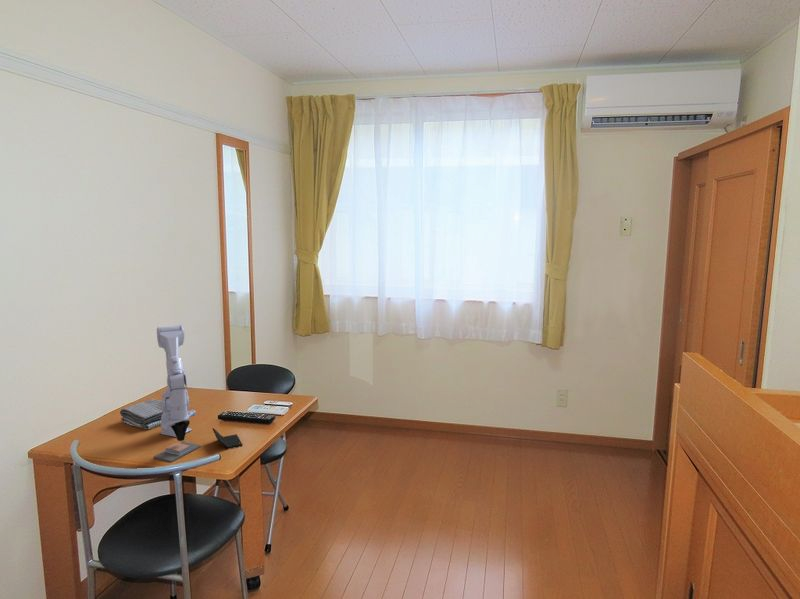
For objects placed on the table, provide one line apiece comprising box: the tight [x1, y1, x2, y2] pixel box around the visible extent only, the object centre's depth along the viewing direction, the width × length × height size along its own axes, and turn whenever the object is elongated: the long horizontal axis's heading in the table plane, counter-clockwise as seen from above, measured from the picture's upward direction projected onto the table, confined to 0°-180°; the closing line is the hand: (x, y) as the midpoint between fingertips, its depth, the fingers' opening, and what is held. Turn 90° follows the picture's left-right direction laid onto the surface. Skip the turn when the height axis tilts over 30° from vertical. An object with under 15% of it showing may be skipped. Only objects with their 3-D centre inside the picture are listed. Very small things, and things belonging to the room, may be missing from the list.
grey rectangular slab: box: [152, 441, 202, 463], centre depth 189 cm, size 9×14×1 cm, turn 157°
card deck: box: [165, 442, 190, 455], centre depth 189 cm, size 7×2×5 cm
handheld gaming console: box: [211, 427, 243, 450], centre depth 196 cm, size 12×7×10 cm
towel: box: [119, 398, 163, 430], centre depth 218 cm, size 15×18×8 cm
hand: (180, 440), depth 190 cm, fingers closed
